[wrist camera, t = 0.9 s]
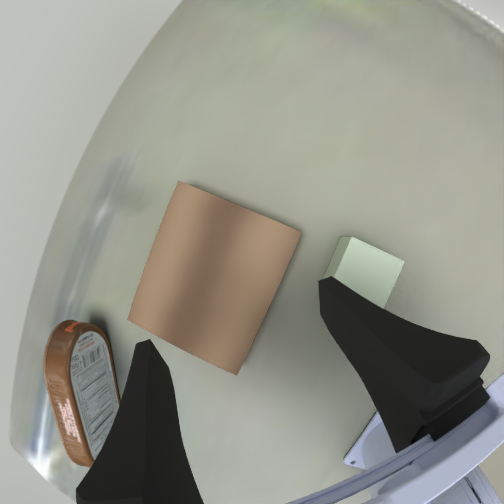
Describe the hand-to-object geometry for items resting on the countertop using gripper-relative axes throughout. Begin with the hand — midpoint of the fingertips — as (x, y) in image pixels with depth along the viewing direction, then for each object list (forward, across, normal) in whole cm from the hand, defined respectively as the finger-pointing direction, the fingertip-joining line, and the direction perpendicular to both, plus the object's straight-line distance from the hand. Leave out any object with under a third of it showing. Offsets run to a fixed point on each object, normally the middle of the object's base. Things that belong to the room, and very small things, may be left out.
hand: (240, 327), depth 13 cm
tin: (+11, +14, +15) cm, 23 cm away
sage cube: (+8, -10, +7) cm, 15 cm away
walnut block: (+12, 0, +7) cm, 14 cm away
